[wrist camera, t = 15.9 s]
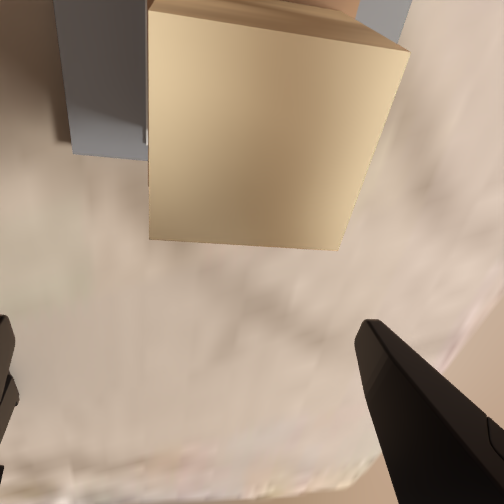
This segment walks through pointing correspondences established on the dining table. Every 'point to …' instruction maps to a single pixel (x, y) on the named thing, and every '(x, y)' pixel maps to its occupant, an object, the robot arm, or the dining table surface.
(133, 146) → the base board
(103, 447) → the dining table surface
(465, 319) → the dining table surface
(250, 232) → the maple cube
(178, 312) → the dining table surface
